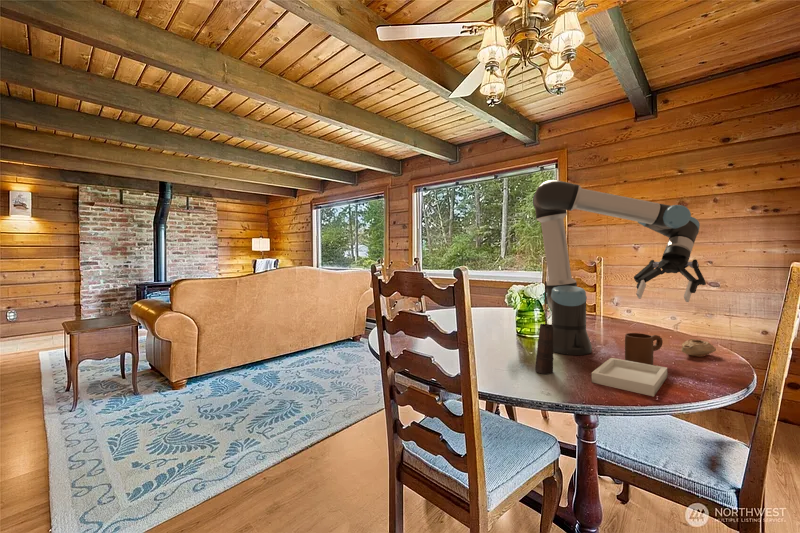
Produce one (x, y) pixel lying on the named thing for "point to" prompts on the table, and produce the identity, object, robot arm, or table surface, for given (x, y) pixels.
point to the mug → (641, 347)
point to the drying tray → (630, 376)
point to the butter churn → (545, 345)
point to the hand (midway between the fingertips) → (661, 297)
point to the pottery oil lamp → (697, 347)
